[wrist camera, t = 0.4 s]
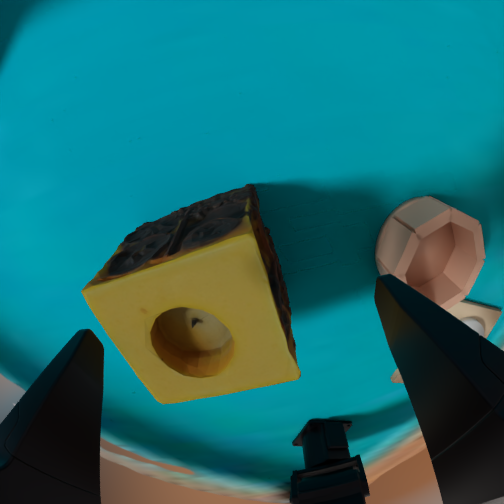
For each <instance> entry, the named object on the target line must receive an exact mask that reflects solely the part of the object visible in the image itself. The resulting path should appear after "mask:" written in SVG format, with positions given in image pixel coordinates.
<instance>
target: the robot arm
mask: <svg viewBox="0 0 504 504" xmlns="http://www.w3.org/2000/svg"><path fill="white" fill-rule="evenodd" d="M374 299H375V304H376V307H377V310H378V313H379V316H380V320H381V323H382V326H383V329H384V332H385V336H386V339H387V342H388V345H389V348H390V351H391V353H392V355H393V358H394V360H395V363H396V365H397V367H398V370H399V372H400V375H401V377H402V380H403V382H404V385H405V387H406V390H407V392H408V395H409V398H410V400H411V403H412V406H413V408H414V411H415V414H416V417H417V419H418V422H419V425H420V428H421V431H422V434H423V437H424V440H425V443H426V446H427V449H428V452H429V455H430V458H431V460H432V464H433V468H434V472H435V475H436V479H437V482H438V485H439V489H440V493H441V497H442V501H443V504H504V351H503V350H501V349H500V348H498V347H497V346H496V345H494V344H493V343H491V342H490V341H488V340H487V339H486V338H484V337H483V336H482V335H480V336H479V333H477V332H476V331H475V330H473V329H472V328H470V327H469V326H468V325H466V324H465V323H463V322H462V321H461V320H459V319H458V318H456V317H455V316H453V315H452V314H451V313H449V312H448V311H446V310H445V309H443V308H442V307H440V306H439V305H437V304H436V303H435V302H433V301H432V300H430V299H429V298H427V297H426V296H424V295H423V294H421V293H420V292H418V291H417V290H415V289H414V288H412V287H411V286H409V285H407V284H406V283H404V282H403V281H401V280H400V279H398V278H397V277H395V276H394V275H392V274H385V275H381V276H378V277H377V280H376V287H375V296H374ZM103 372H104V347H103V345H102V343H101V342H100V340H99V339H98V338H97V337H96V335H95V334H94V333H93V332H92V330H90V329H82V330H79V331H78V332H77V333H76V334H75V335H74V336H73V337H72V338H71V339H70V340H69V342H68V343H67V344H66V345H65V346H64V347H63V348H62V350H61V351H60V352H59V353H58V354H57V355H56V356H55V358H54V359H53V360H52V361H51V362H50V363H49V365H48V366H47V367H46V368H45V369H44V371H43V372H42V373H41V374H40V375H39V377H38V378H37V379H36V380H35V381H34V383H33V384H32V385H31V386H30V388H29V389H28V390H27V391H26V393H25V394H24V395H23V396H22V398H21V399H20V401H19V402H18V403H17V404H16V405H15V407H14V408H13V409H12V410H11V412H10V413H9V414H8V415H7V417H6V418H5V419H4V420H3V422H2V423H1V424H0V504H101V497H100V433H101V414H102V401H103ZM351 426H352V422H351V421H322V420H310V421H308V422H307V424H306V425H305V426H304V428H303V429H302V430H301V432H300V433H299V434H298V436H297V437H296V438H295V439H294V441H293V442H292V444H293V446H302V447H303V454H304V462H305V469H303V470H298V471H297V470H295V471H293V475H292V476H291V493H290V503H291V504H366V502H365V497H367V496H370V493H369V487H368V483H367V479H366V475H365V471H364V468H363V464H362V461H361V458H360V454H359V455H356V456H355V457H350V453H349V449H348V447H349V446H348V442H347V438H346V434H345V433H346V431H347V430H348V429H349V428H350V427H351Z"/></svg>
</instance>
